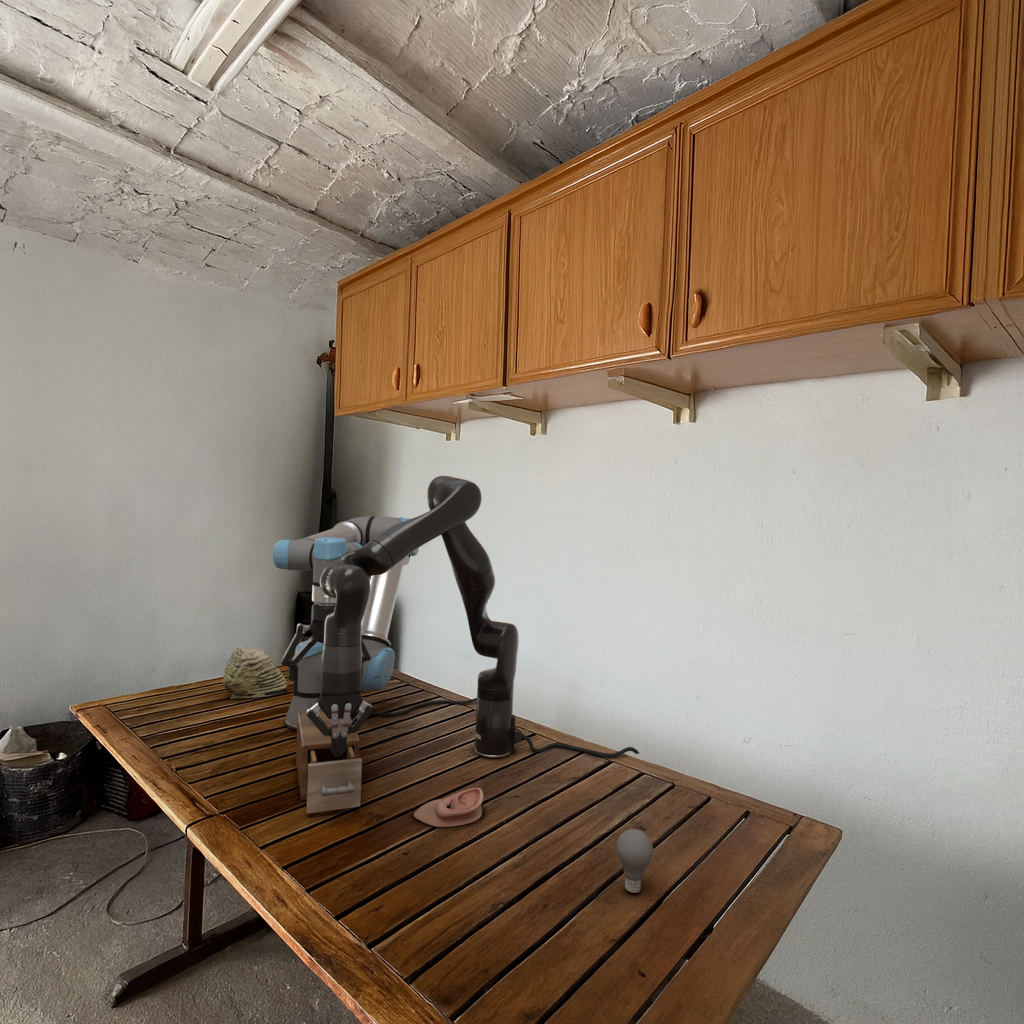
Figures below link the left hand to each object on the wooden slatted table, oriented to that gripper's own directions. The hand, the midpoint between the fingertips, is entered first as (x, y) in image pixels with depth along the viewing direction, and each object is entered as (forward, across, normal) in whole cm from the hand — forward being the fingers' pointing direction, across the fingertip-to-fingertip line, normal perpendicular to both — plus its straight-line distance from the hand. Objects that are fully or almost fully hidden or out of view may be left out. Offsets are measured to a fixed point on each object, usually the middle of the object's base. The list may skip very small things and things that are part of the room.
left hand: (325, 692), depth 150 cm
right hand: (+3, 0, -29) cm, 29 cm away
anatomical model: (+17, +22, -32) cm, 42 cm away
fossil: (+18, -16, +58) cm, 62 cm away
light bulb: (+17, +44, -66) cm, 81 cm away
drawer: (+16, 0, -18) cm, 24 cm away
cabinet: (+17, 0, -7) cm, 18 cm away
